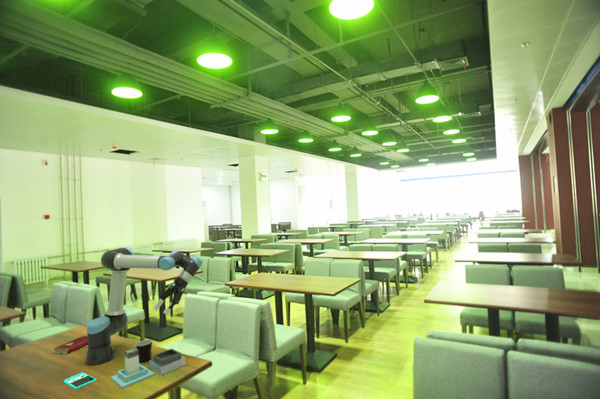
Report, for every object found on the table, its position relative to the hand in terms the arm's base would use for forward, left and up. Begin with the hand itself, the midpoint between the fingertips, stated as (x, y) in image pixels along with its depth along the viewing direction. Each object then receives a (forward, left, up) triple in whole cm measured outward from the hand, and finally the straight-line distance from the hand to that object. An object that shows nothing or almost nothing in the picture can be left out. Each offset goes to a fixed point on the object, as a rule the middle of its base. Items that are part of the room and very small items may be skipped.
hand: (159, 311), depth 195 cm
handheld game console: (-16, -37, -29) cm, 50 cm away
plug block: (+4, -18, -27) cm, 33 cm away
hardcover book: (-72, -25, -29) cm, 82 cm away
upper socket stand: (+8, -1, -28) cm, 30 cm away
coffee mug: (-12, -4, -29) cm, 31 cm away
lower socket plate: (+4, -18, -28) cm, 34 cm away
